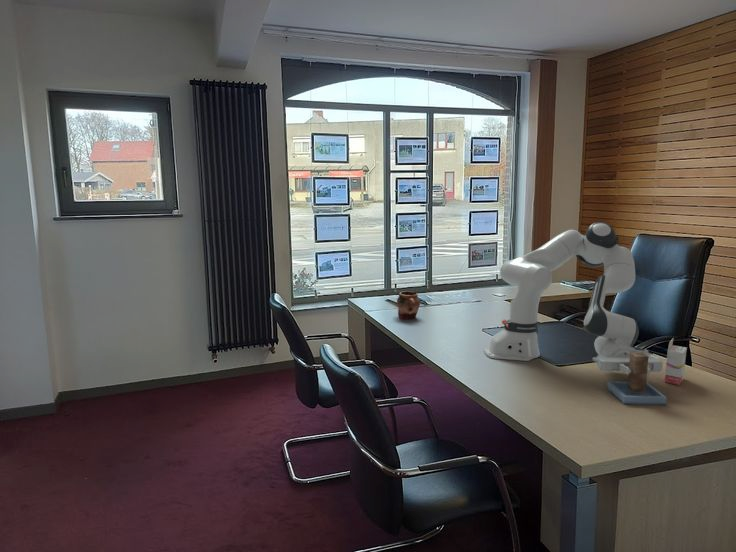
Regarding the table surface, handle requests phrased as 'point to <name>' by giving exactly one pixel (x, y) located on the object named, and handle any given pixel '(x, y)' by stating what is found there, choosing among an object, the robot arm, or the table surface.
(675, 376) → the ink cartridge box
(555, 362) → the table surface
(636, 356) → the walnut block
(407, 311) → the decorative planter
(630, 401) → the slate tray
